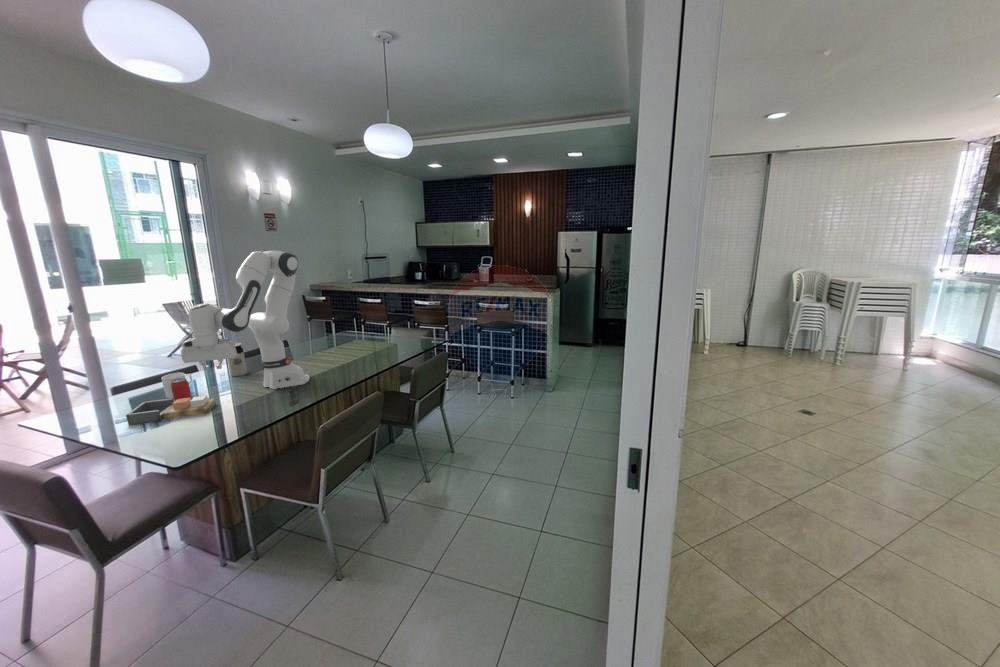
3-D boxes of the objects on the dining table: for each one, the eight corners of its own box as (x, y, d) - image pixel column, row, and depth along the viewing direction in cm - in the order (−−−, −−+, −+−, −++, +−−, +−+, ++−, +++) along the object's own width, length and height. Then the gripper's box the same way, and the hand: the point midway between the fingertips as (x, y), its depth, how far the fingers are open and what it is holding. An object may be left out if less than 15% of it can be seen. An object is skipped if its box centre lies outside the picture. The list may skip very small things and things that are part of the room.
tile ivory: (208, 401, 179) (207, 395, 179) (204, 405, 175) (202, 399, 174) (195, 402, 178) (194, 396, 177) (191, 407, 173) (189, 401, 172)
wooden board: (215, 404, 183) (214, 398, 182) (206, 413, 173) (205, 407, 172) (175, 409, 178) (174, 403, 178) (164, 419, 168) (162, 413, 167)
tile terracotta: (191, 403, 177) (190, 397, 177) (187, 407, 173) (185, 401, 172) (178, 405, 176) (177, 399, 175) (173, 409, 171) (172, 403, 170)
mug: (172, 401, 188) (167, 379, 185) (162, 398, 191) (157, 377, 188) (199, 392, 198) (194, 371, 195) (189, 389, 202) (184, 369, 199)
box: (175, 408, 180) (173, 398, 178) (160, 421, 167) (157, 410, 165) (146, 411, 176) (143, 401, 175) (128, 425, 163) (125, 415, 162)
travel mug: (232, 373, 225) (226, 343, 221) (248, 370, 229) (243, 342, 224) (230, 377, 218) (223, 347, 214) (246, 375, 222) (240, 345, 217)
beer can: (196, 401, 187) (190, 378, 184) (181, 407, 181) (175, 383, 178) (187, 399, 189) (181, 377, 186) (172, 405, 183) (166, 382, 180)
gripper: (235, 336, 177) (241, 364, 181) (183, 340, 171) (189, 369, 174) (231, 339, 171) (237, 368, 175) (176, 344, 165) (183, 374, 169)
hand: (213, 369), depth 175 cm, fingers open, 3 cm apart
